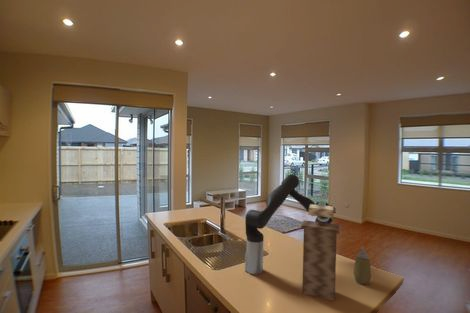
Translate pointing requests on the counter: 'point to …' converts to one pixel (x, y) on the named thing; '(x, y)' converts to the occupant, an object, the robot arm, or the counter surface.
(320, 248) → the stand
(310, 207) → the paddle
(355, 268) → the squeeze bottle
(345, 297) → the counter surface
